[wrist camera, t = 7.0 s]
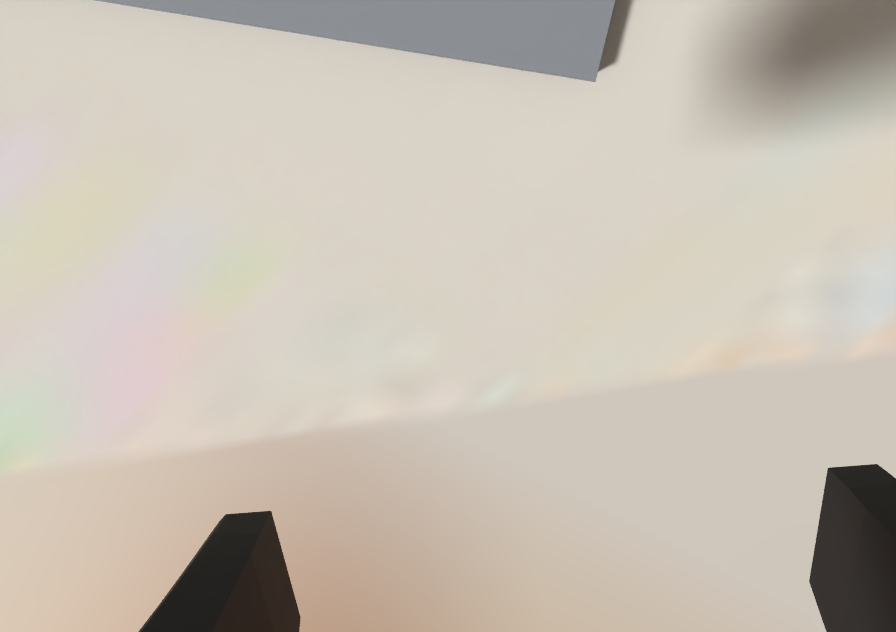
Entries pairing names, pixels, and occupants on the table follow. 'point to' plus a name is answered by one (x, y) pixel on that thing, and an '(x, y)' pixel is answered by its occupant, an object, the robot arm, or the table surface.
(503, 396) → the table surface
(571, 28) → the T board
